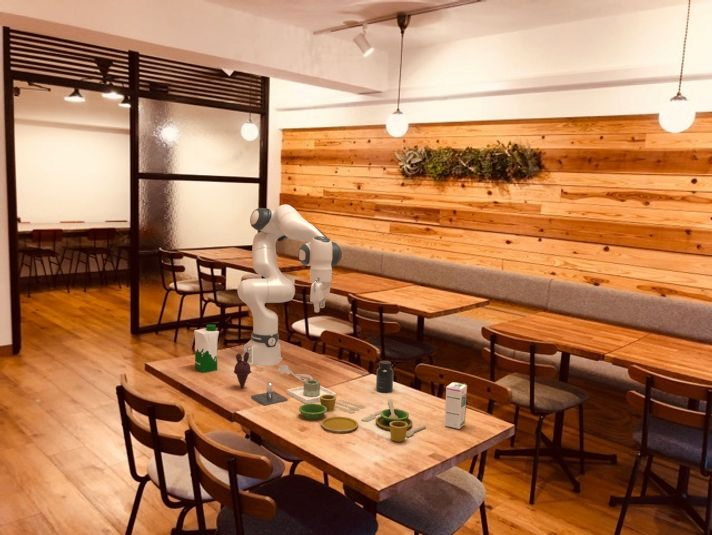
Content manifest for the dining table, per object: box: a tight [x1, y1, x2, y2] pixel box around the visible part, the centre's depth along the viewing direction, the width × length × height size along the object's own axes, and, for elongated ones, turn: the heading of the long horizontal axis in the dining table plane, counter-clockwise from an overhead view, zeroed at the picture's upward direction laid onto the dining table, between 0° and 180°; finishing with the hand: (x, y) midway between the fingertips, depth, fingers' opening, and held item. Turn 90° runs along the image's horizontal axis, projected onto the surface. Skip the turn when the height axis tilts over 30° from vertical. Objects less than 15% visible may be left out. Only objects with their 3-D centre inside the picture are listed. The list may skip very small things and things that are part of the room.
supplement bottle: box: [375, 360, 394, 394], centre depth 245 cm, size 7×7×12 cm
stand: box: [250, 382, 288, 407], centre depth 229 cm, size 10×10×6 cm
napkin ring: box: [303, 379, 321, 397], centre depth 235 cm, size 6×6×5 cm
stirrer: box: [277, 364, 314, 383], centre depth 255 cm, size 20×4×5 cm, turn 50°
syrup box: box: [444, 382, 468, 430], centre depth 211 cm, size 6×6×14 cm
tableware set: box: [298, 394, 426, 443], centre depth 211 cm, size 41×28×6 cm
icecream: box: [233, 352, 252, 389], centre depth 239 cm, size 7×7×15 cm
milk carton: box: [193, 323, 220, 374], centre depth 259 cm, size 9×9×20 cm
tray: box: [286, 385, 338, 405], centre depth 235 cm, size 14×14×2 cm
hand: (319, 309), depth 247 cm, fingers open, 8 cm apart
